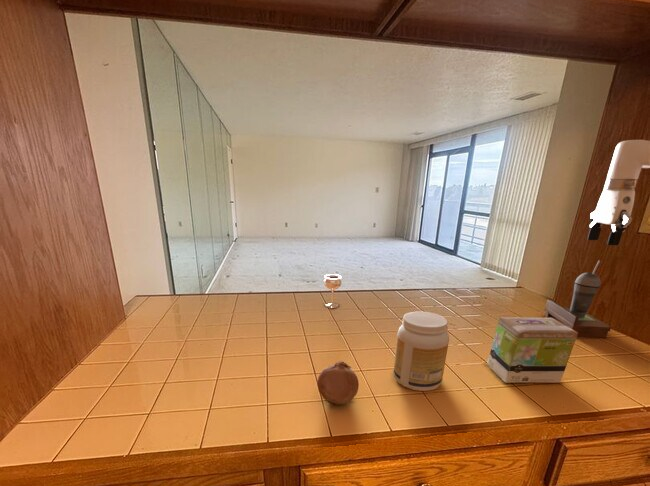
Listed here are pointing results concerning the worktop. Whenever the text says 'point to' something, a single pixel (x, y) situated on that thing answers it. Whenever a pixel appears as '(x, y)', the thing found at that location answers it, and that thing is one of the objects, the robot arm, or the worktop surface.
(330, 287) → the wineglass
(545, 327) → the tea box
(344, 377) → the onion
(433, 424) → the worktop surface
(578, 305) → the beverage cup
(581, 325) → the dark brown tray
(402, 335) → the supplement tub
